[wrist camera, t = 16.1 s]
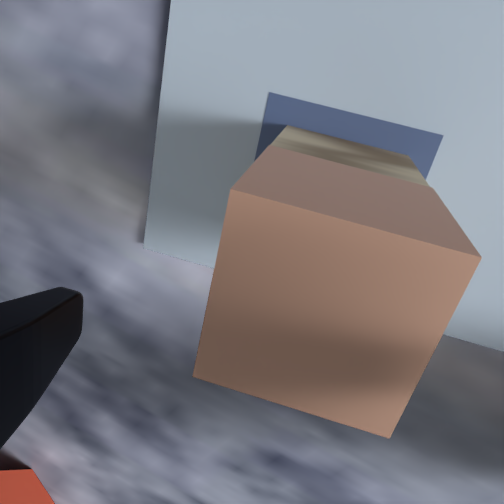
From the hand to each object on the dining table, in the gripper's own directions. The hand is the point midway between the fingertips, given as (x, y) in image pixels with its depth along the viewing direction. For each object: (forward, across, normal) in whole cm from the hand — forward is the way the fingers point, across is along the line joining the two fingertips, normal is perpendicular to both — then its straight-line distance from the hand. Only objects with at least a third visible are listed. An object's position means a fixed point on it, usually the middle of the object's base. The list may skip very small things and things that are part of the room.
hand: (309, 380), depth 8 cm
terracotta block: (+7, 0, 0) cm, 7 cm away
